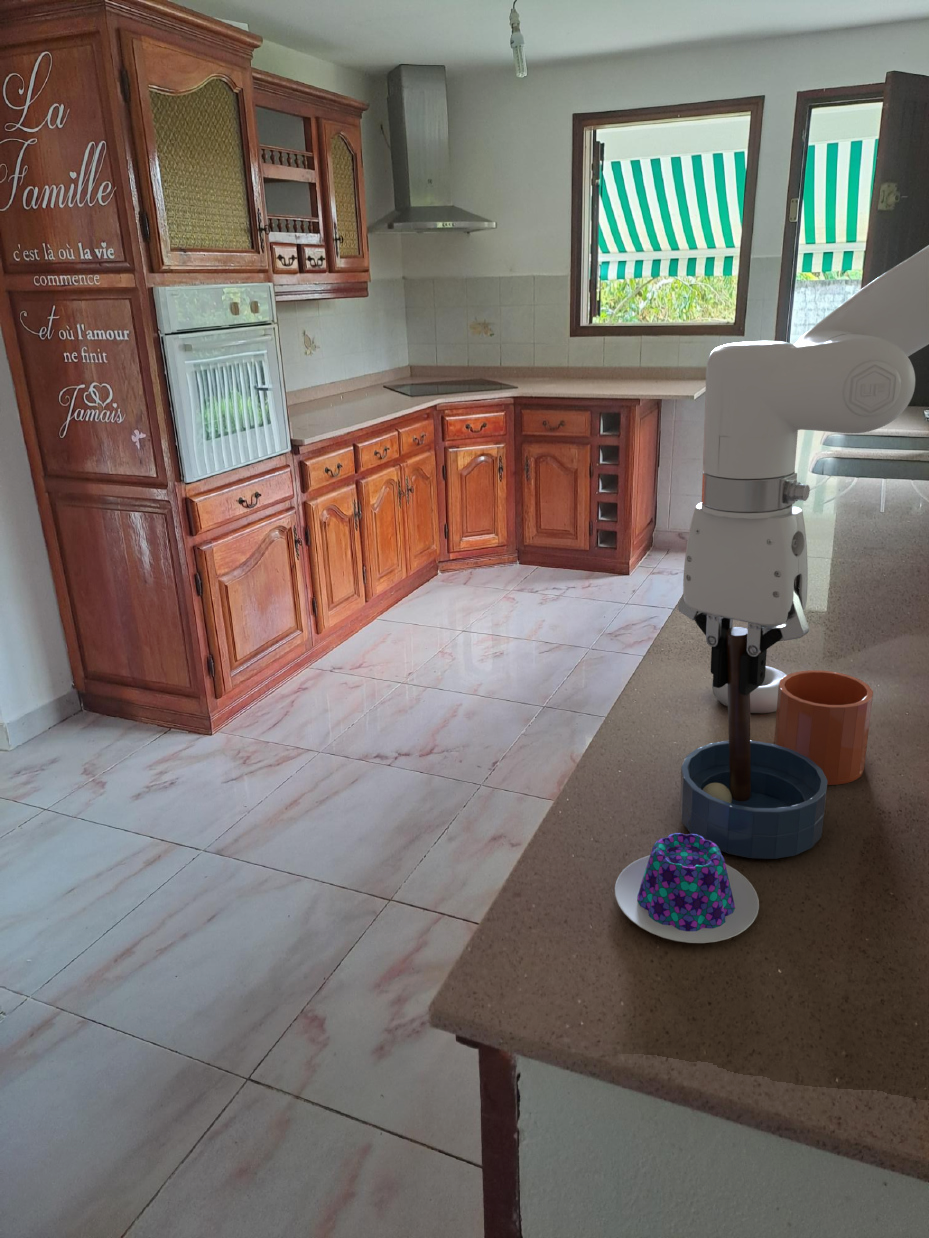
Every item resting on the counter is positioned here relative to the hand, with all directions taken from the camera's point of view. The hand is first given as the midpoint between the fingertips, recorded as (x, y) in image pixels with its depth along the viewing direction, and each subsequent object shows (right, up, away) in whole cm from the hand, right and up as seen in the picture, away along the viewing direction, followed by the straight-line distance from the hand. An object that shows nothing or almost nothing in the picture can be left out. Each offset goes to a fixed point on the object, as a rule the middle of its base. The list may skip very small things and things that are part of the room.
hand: (736, 684), depth 82 cm
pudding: (-6, -18, -6) cm, 20 cm away
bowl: (+3, -14, +4) cm, 15 cm away
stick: (+2, -11, +5) cm, 13 cm away
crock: (+13, -10, +14) cm, 21 cm away
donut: (+11, -4, +29) cm, 31 cm away
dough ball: (-1, -12, +5) cm, 13 cm away
